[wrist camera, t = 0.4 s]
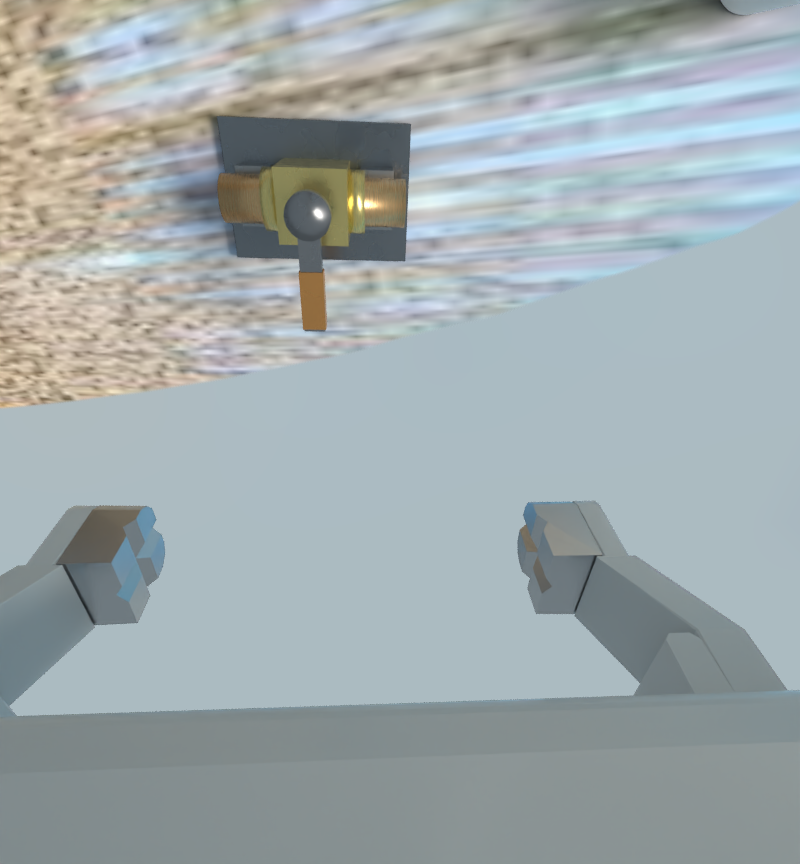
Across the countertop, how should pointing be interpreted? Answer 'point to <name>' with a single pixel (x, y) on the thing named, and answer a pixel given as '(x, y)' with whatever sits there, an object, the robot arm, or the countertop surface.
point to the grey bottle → (756, 5)
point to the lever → (310, 252)
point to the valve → (316, 184)
